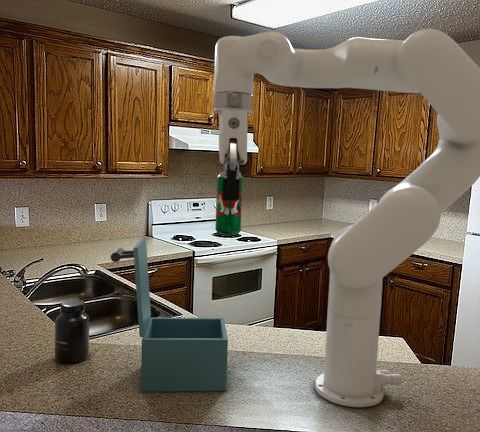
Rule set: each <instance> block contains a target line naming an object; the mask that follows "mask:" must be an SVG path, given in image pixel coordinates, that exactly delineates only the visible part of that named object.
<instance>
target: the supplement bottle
mask: <svg viewBox="0 0 480 432" xmlns="http://www.w3.org/2000/svg"><path fill="white" fill-rule="evenodd" d="M59 312H60V314H59V315H58V316H56V318H55V322H54V359H55V361H57V363H60V364H69V365H70V364H77V363H80V362H83V361H86V359H87V358H88V357H89V354H90V353H89V352H90V317H89V315H88V314H87V313H85V312H86V302H85V301H84V300H81V299H69V300H64V301H62V302H60V310H59Z"/></svg>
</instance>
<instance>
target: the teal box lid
mask: <svg viewBox="0 0 480 432" xmlns="http://www.w3.org/2000/svg"><path fill="white" fill-rule="evenodd" d="M123 259H133V264H134V275H135V290H136V291H135V293H136V304H137V305H136V307H137V316H138V317H137V320H138V334H139V338H143V337H144V335H145V332H146V329H147V326H148V323H149V320H150V318H151V316H152V311H151V308H152V307H151V296H150V295H151V294H150V279H149V265H148V264H149V263H148V251H147V237H141V238H140V239H139V241H138V242H137V243H136V244H135V245H134V246H133V247H132V249H131V250H124V249H123V248H121V247H118V248H117V249H115V250H114V251H113V252H112V253H111V255H110V260H111V261H112V262H114V263H117V262H120V260H123Z"/></svg>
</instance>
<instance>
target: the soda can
mask: <svg viewBox="0 0 480 432" xmlns="http://www.w3.org/2000/svg"><path fill="white" fill-rule="evenodd" d="M223 179H224V172H223V171H219V172H218V175H217V176H216V199H215V203H216V204H215V227H214V228H215V232H216V233H217V234H221V235H237V234H239V233H240V232H242V217H243V216H242V215H243V213H242V211H243V192H244V191H243V189H244V188H243V187H244V177H243V176H242V172H240V171H239V180H240V185H239V200H238V201H228V200H223V199H222V183H223Z"/></svg>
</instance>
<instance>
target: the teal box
mask: <svg viewBox="0 0 480 432" xmlns="http://www.w3.org/2000/svg"><path fill="white" fill-rule="evenodd" d="M228 347H229V337H228V333H227V327H226V322H225V318H224V317H150V320H149V323H148V326H147V329H146V332H145V335H144V337H141V359H140V361H141V363H140V364H141V365H140V366H141V367H140V392H141V393H142V392H223V391H224V392H227V381H228V379H227V375H228V352H229V351H228Z"/></svg>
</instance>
